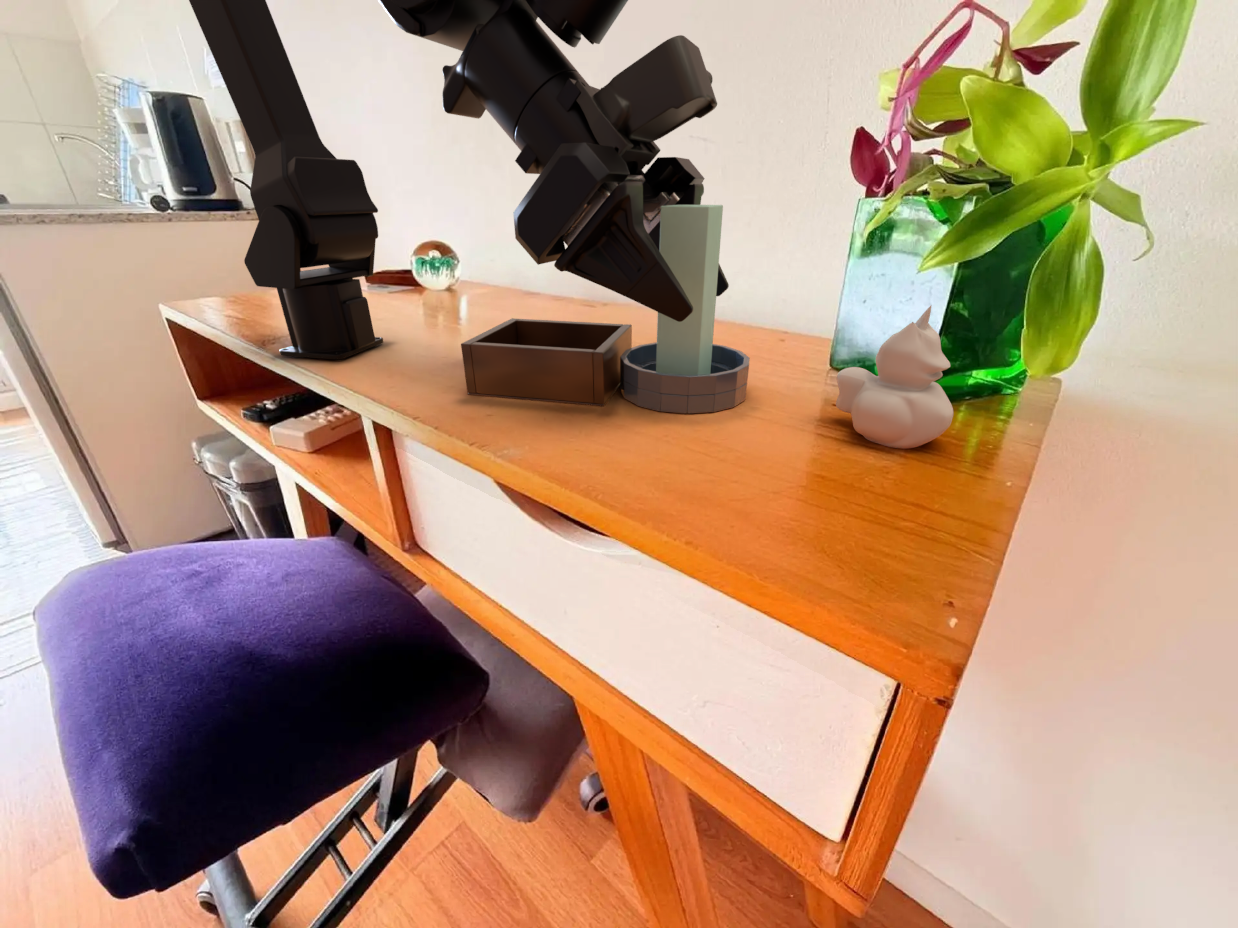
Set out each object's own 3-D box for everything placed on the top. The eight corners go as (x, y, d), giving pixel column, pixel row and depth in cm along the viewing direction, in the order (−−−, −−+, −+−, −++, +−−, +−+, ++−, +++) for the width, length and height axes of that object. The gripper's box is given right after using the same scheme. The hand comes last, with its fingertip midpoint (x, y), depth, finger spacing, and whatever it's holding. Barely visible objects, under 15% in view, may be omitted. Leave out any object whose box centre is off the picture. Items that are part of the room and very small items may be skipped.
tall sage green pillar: (654, 396, 38) (660, 206, 33) (670, 381, 41) (677, 204, 35) (696, 401, 37) (709, 206, 32) (709, 386, 40) (723, 204, 34)
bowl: (607, 414, 36) (606, 370, 35) (635, 375, 44) (636, 338, 43) (742, 426, 34) (747, 380, 33) (747, 383, 42) (751, 344, 41)
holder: (468, 401, 39) (460, 343, 37) (515, 367, 46) (511, 318, 44) (604, 413, 37) (603, 352, 35) (631, 375, 44) (631, 324, 42)
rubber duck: (919, 473, 29) (962, 319, 25) (806, 435, 33) (829, 300, 29) (957, 444, 32) (1000, 304, 28) (850, 413, 36) (875, 289, 33)
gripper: (550, -86, 22) (791, 213, 23) (682, 26, 38) (824, 203, 39) (427, 144, 29) (622, 370, 30) (584, 159, 44) (708, 309, 45)
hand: (707, 303), depth 36 cm, fingers open, 9 cm apart
